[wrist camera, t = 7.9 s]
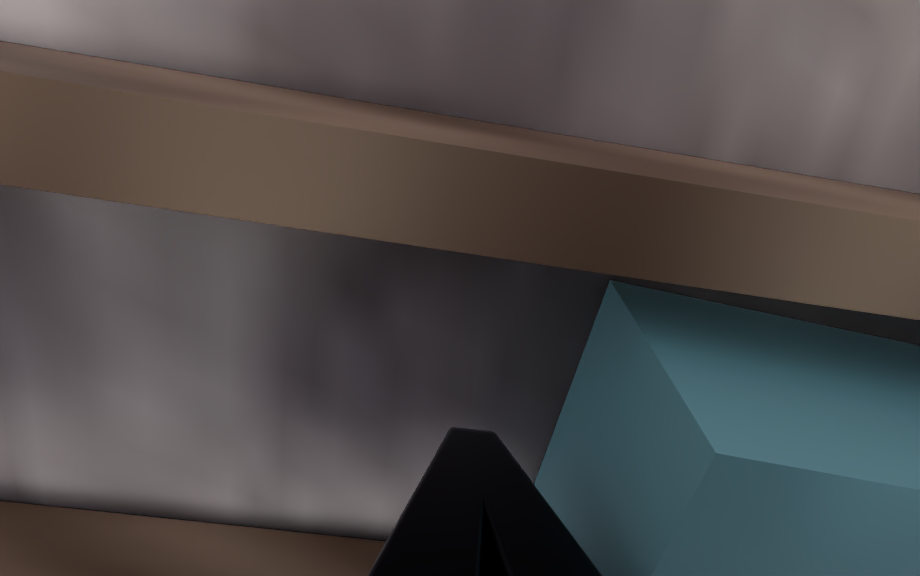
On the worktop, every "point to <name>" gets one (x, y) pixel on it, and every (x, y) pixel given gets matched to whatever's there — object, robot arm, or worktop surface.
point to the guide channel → (409, 235)
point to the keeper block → (736, 444)
